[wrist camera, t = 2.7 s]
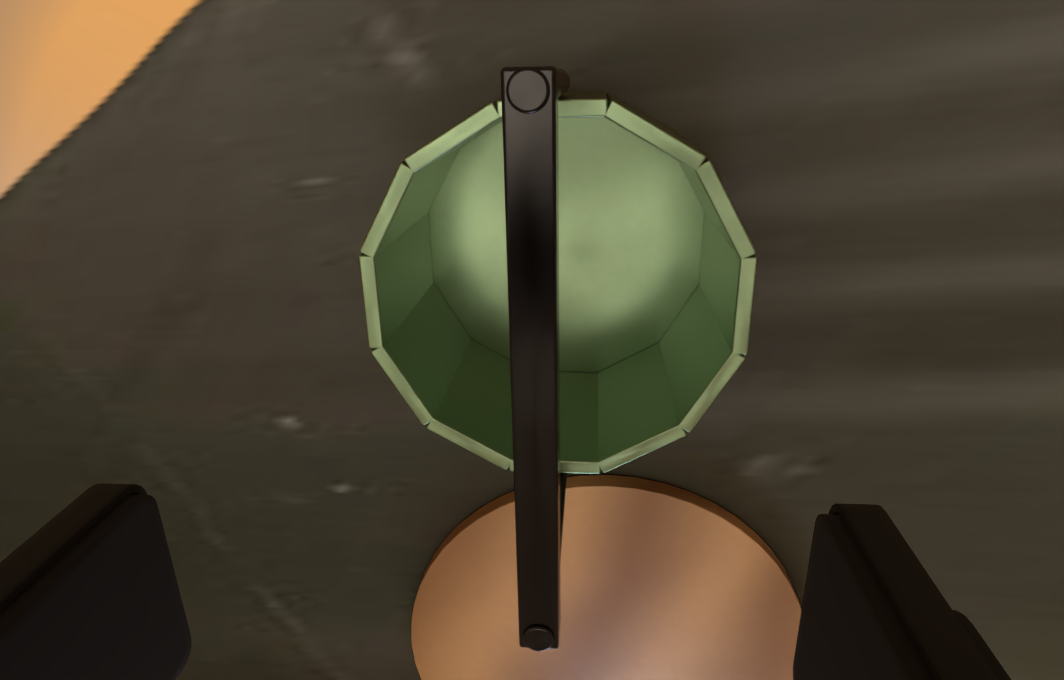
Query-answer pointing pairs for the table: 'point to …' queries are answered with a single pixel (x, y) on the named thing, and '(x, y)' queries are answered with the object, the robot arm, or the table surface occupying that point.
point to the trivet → (612, 593)
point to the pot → (557, 297)
